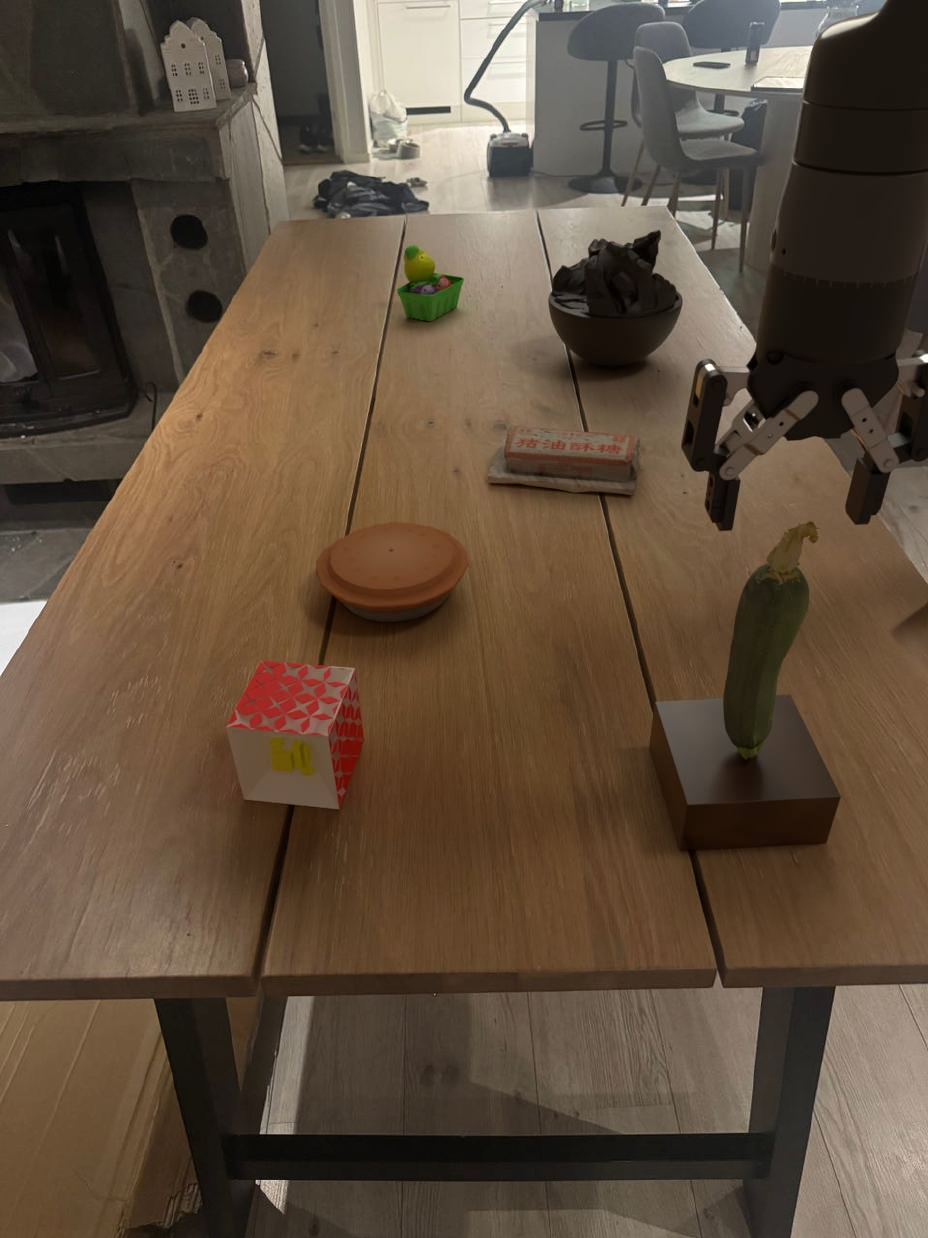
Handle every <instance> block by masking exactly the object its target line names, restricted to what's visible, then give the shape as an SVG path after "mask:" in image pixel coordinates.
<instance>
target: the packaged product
mask: <svg viewBox="0 0 928 1238" xmlns="http://www.w3.org/2000/svg"><path fill="white" fill-rule="evenodd" d="M506 435H507V436H506V437H505V438H503V439H502V441H501V444H500V447H499V448H498V451H497V453H496V456H495V458H494V460H493V463H492V465H491V467H490V469H489V471H488V474H487V481H488V484H514V485H516V484H518V485H523V486H524V485H525V486H532V487H540V488H548V489H555V490H556V489H557V490H562V491H566V492H570V493H584V492H586V493H587V492H595V493H608V494H619V495H626V496H627V495H629V496H633V494H634V493H635V489H636V484H637V482H638V481H637V480H638V475H639V467H640V464H641V459H642V454H641V451H639V450H640V446H641V445H640V439H641V438H640V437H638V436H636V435H635V436H634V435H628V434H619V433H618V434H617V433H614V434H613V433H606V432H595V431H583V430H570V429H569V430H568V429H558V428H546V427H533V426H523V425H522V426H521V425H518V426H516V425H514V426H511V427H509V429H508V430H507V434H506Z"/></svg>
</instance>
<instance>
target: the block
mask: <svg viewBox="0 0 928 1238" xmlns="http://www.w3.org/2000/svg"><path fill="white" fill-rule="evenodd" d="M648 746H649V750H650V754H651V757H652V760H653V764H654V768H655V771H656V774H657V778H658V781H659V784H660V789H661V791H662V794H663V798H664V801H665V805H666V808H667V812H668V815H669V819H670V822H671V825H672V829H673V832H674V836H675V839H676V842H677V846H678V850H679V851H680V852H682V851H684V852H685V851H699V850H700V851H701V850H718V849H733V848H735V849H737V848H754V847H770V846H788V845H789V846H790V845H807V844H823V843H825V844H826V843H827V842H828V839H829V836H830V833H831V830H832V827H833V823H834V820H835V817H836V814H837V811H838V808H839V804H840V802H841V798H842V796H841V794H840V792H839V790H838V787H837V786H836V783H835V782H834V779H833V778H832V776H831V773H830V772H829V770H828V768H827V765H826V764H825V762H824V759H823V758H822V755H821V754H820V752H819V751H820V750H819V749H818V746H816V743H815V742H814V739H813V738H812V735H811V734H810V731H809V730H808V727H807V726H806V723H805V721H804V720H803V717H802V715H801V713H800V711H799V709H798V708H797V705H796V703H795V701H794V699H793V697H792V695H791V694H776V699H775V705H774V711H773V720H772V728H771V731H770V734H769V735H768V736H767V738H766V739H765V743H764V745H763V746H762V747H761V749H760V751H758V752H757V754H756V755H755V756H754V757H753V758H751V759H750V757H748V759H745V758H743V757H742V756H741V754H740V753H739V752H738V750H737V747H736V746H735V745H734V744H733V743H732V742H731V740H730V738H729V736H728V734H727V732H726V729H725V723H724V711H723V697H718V698H717V697H715V698H698V699H696V698H695V699H677V700H662V701H661V700H660V701H658V700H657V701H654V706H653V713H652V721H651V728H650V736H649V745H648Z"/></svg>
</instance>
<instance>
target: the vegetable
mask: <svg viewBox="0 0 928 1238" xmlns="http://www.w3.org/2000/svg"><path fill="white" fill-rule="evenodd" d="M817 529H818V530H820V527H816V524H815V522H814V521H812V520H810V521H807V522H804V523H801V522H799V523H798V524H796V525H795V526H793V527H789V528H787V530H784V533H783V534H782V535H781V538H780V540H779V542H777V545H775V546H774V547H773V549H772V550H771V551H770V552H769V553H768V555H767V557H766V563H765V564H763V565H760V566H758V567H756V569H755V570H754V571H753V572H752V573H751V575H749V577H748V578H747V581H746V583H745V585H744V586H743V588H742V591H741V594H740V598H739V601H738V605H737V607H736V611H735V617H734V625H733V633H732V634H733V635H732V639H731V643H730V649H729V658H728V664H727V673H726V679H725V685H724V688H723V689H724V690H723V697H722V698H723V711H724V723H725V729H726V732H727V734H728V736H729V738H730V740H731V742H732V743H733V744H734V745H735V746H736V747H737V750H738V752H739V753H740V754H741V756H742V757H743V758H745V759H748V757H750V759H751V758H753V757H754V756H755V755H756V754H757V752H758V751H760V749H761V747H762V746H763V745H764V743H765V739H766V738H767V736H768V735H769V734H770V731H771V728H772V720H773V711H774V705H775V699H776V695H777V689H778V679H779V675H780V672H781V668H782V665H783V663H784V662H783V661H784V660H785V657H786V656H787V655H788V653H789V652H790V649H791V647H792V646H793V644H794V642H795V640H796V638H797V635H798V633H799V631H800V628H801V627H802V624H803V623H804V620H805V619H806V618H805V617H806V615H807V613H808V611H809V606H810V587H809V586H810V585H809V583H808V581H807V579H806V577H805V575H804V573H803V572H802V571H801V569H800V568H799V566H800V562H799V561H800V559H801V555H802V547H803V544H804V543H803V542H804V539H805V538H808V541H810V542H811V544H816V543H817V542H818V540H819V538H820V537H819V536H818V531H817Z"/></svg>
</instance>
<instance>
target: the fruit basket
mask: <svg viewBox="0 0 928 1238" xmlns="http://www.w3.org/2000/svg"><path fill="white" fill-rule="evenodd" d="M433 259H434V258H432V257H431V256H430V255H429V254H428V253H426V252H425V251H424V250H423V249H422V248H421V247H419V246H418V245H415V244H411V245H408V246H407V247H406V248H405V249H404V254H403V261H404V265H403V270H404V275H405V277H406V280H407V281H408V282H407V283H406V284H404V285H402V286H400V287H399V288H397V289H396V292H397V295H398V297H399V298H400V301H401V305H402V307H403V310H404V313H405V316H406V318H407V317H408V318H407V319H413V318H415V319H414V320H417V319H420V320H419V321H423V320H426V322H428V321H429V322H433V321H435V320H436V319H438V318H440V317H441V315H442V316H443V315H444V313H445V314H447V313H449V312H451V311H452V310H454V309H456V308H457V307H458V304H459V299H460V295H461V291H462V287H463V284H464V281H465V278H464V277H462V276H456V275H450V274H445V273H437V272H435V269H436V262H435V261H434V260H433ZM455 307H456V308H455ZM451 309H452V310H451ZM409 317H410V318H409ZM437 317H438V318H437ZM434 319H435V320H434Z"/></svg>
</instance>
